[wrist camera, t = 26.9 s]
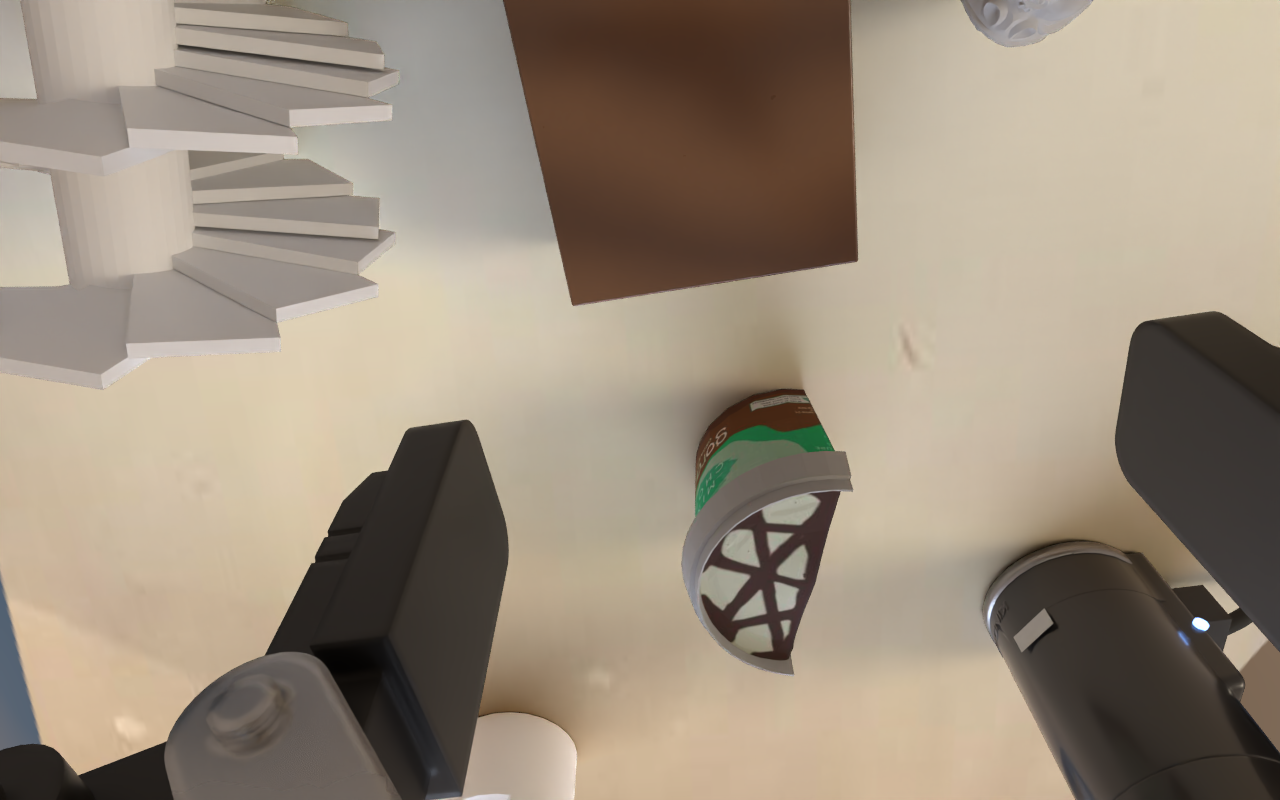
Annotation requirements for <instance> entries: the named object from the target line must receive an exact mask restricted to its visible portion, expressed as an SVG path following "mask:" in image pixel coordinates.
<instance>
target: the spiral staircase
mask: <svg viewBox="0 0 1280 800" xmlns="http://www.w3.org/2000/svg"><path fill="white" fill-rule="evenodd" d="M20 2H21V7H22V13H23V19H24V25H25V30H26V36H27V42H28V47H29V53H30V59H31V65H32V70H33V76H34V82H35V88H36V93H37V99H18V98H0V168H9V169H21V170H33V171H38V172H41V173H45V174H49V175H51V179H52V185H53V191H54V196H55V202H56V208H57V214H58V219H59V225H60V231H61V236H62V242H63V248H64V254H65V259H66V265H67V271H68V277H69V282H70V284H69V285H63V286H52V287H0V373H6V374H12V375H18V376H24V377H30V378H36V379H42V380H47V381H53V382H59V383H65V384H71V385H77V386H83V387H89V388H95V389H101V390H104V389H106V388H107V387H109V386H110V385H112V384H113V383H115V382H116V381H118V380H119V379H120V378H122V377H123V376H125V375H126V374H128V373H129V372H131V371H132V370H134V369H135V368H137V367H138V366H140V365H141V364H143V363H144V362H146V361H147V360H149V359H150V358H158V357H180V356H201V355H222V354H244V353H265V352H281V339H280V334H279V329H278V325H277V323H278V322H282V321H286V320H290V319H294V318H298V317H302V316H306V315H309V314H313V313H317V312H321V311H325V310H329V309H333V308H337V307H341V306H344V305H348V304H352V303H356V302H360V301H364V300H368V299H372V298H376V297H378V284H377V283H375V282H373V281H370V280H368V279H366V278H364V277H362V276H359V274H360V273H361V272H362V271H363V270H365V269H366V268H367V267H368V266H369V265H371V264H372V263H373V262H374V261H375V260H377V259H378V258H379V257H380V256H381V255H383V254H384V253H385V252H386V251H387V250H389V249H390V248H391V247H392V246H393V245H395V240H396V232H392V231H386V230H380V229H379V198H373V197H361V196H349V195H353V183H352V182H350V181H348V180H346V179H344V178H343V177H341V176H339V175H337V174H335V173H333V172H331V171H330V170H328V169H326V168H324V167H322V166H320V165H318V164H317V163H315V162H313V161H311V160H309V159H284V155H283V154H296V155H298V137H297V136H296V135H295V133H294V132H293V131H292V130H291V129H290V128H289V127H302V126H317V125H331V124H345V123H360V122H374V121H389V120H392V105H391V104H387V103H384V102H380V101H377V100H373V99H370V98H369V97H371V96H373V95H376V94H378V93H380V92H382V91H384V90H387V89H389V88H391V87H393V86H395V85H398V84H399V70H395V69H389V68H384V53H383V52H382V50H381V48H380V47H379V45H378V43H377V42H376V41H370V40H363V39H355V38H348V37H341V36H348V23H347V22H343V21H340V20H336V19H333V18H329V17H326V16H322V15H319V14H315V13H312V12H308V11H305V10H301V9H298V8H294V7H289V6H279V5H269V4H266V0H20ZM333 35H335V36H333ZM366 97H367V98H366Z"/></svg>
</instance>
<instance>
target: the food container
mask: <svg viewBox="0 0 1280 800" xmlns="http://www.w3.org/2000/svg"><path fill="white" fill-rule="evenodd" d="M850 478H851V473H850V469H849V464H848V460H847V456H846V452H842V451H835V450H834V448H833V446H832V444H831V442H830V440H829V438H828V436H827V434H826V433H825V431H824V429H823V427H822V425H821V423H820V421H819V419H818V417H817V415H816V413H815V411H814V409H813V407H812V405H811V403H810V401H809V399H808V397H807V395H806V393H805V391H804V390H798V389H780V390H775V391H771V392H766V393H761V394H756V395H753V396H751V397H749V398H747V399H745V400H743V401H741V402H739V403H737V404H735V405H733V406H731V407H729V408H727V409H726V410H725V411H724V412H723V413H722V414H721V415H720V416H719V417H718V418H717V419H716V420H715V421H714V422H713V423H712V424H711V425H710V426H709V427H708V429H707V431H706V432H705V434H704V436H703V438H702V440H701V441H700V444H699V447H698V451H697V455H696V485H695V519H694V521H693V523H692V525H691V527H690V529H689V531H688V533H687V536H686V539H685V543H684V546H683V552H682V572H683V580H684V583H685V586H686V588H687V591H688V594H689V597H690V599H691V602H692V605H693V607H694V610H695V612H696V614H697V616H698V618H699V619H700V621H701V623H702V625H703V626H704V627H705V628H706V630H707V631H708V632H709V634H710V635H711V636H712V638H713V639H714V640H715V641H716V642H717V643H718V644H719V646H721V647H722V648H723V649H724V650H726V651H727V652H728V653H729V654H730V655H732V656H733V657H735V658H737V659H739V660H740V661H742V662H744V663H746V664H748V665H751V666H753V667H756V668H758V669H761V670H764V671H768V672H772V673H776V674H782V675H789V676H794V672H793V666H792V660H791V651H792V649H793V643H794V639H795V636H796V632H797V629H798V626H799V623H800V620H801V617H802V615H803V612H804V609H805V607H806V604H807V602H808V600H809V597H810V595H811V592H812V590H813V587H814V585H815V582H816V578H817V574H818V570H819V566H820V561H821V557H822V553H823V549H824V546H825V542H826V538H827V534H828V531H829V528H830V524H831V521H832V518H833V515H834V511H835V508H836V505H837V502H838V498H839V495H840V492H841V491H852V492H853V488H852V485H851V482H850Z"/></svg>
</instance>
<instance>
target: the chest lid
mask: <svg viewBox="0 0 1280 800" xmlns="http://www.w3.org/2000/svg"><path fill="white" fill-rule="evenodd" d="M503 2H504V7H505V11H506V16H507V20H508V24H509V29H510V33H511V38H512V42H513V47H514V51H515V55H516V60H517V64H518V69H519V73H520V77H521V82H522V86H523V91H524V95H525V99H526V104H527V108H528V113H529V117H530V122H531V126H532V130H533V135H534V139H535V144H536V148H537V152H538V157H539V161H540V166H541V170H542V174H543V179H544V183H545V188H546V192H547V197H548V201H549V205H550V210H551V214H552V219H553V223H554V227H555V232H556V236H557V241H558V245H559V249H560V254H561V258H562V263H563V267H564V272H565V276H566V280H567V285H568V289H569V294H570V298H571V302H572V305H573V306H578V305H585V304H591V303H597V302H604V301H610V300H616V299H623V298H629V297H635V296H642V295H648V294H655V293H661V292H667V291H674V290H680V289H686V288H693V287H699V286H706V285H712V284H718V283H725V282H731V281H737V280H744V279H750V278H756V277H763V276H769V275H776V274H782V273H788V272H795V271H801V270H807V269H814V268H820V267H827V266H833V265H839V264H846V263H852V262H857V261H858V238H857V203H856V169H855V135H854V101H853V67H852V33H851V0H503Z"/></svg>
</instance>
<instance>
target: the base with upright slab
mask: <svg viewBox="0 0 1280 800" xmlns="http://www.w3.org/2000/svg"><path fill="white" fill-rule="evenodd" d="M576 763H577V752H576V748H575V744H574V742H573V741H572V739H571V738H570V736H569V735H568V734H567V733H566V732H565V731H564V730H563V729H561V728H560V727H559V726H558V725H556V724H554V723H552V722H550V721H548V720H546V719H544V718H541V717H537V716H533V715H530V714H524V713H514V712H506V713H493V714H490V715H486V716H482V717H479V718H477V723H476V728H475V733H474V738H473V744H472V749H471V754H470V759H469V764H468V769H467V774H466V779H465V784H464V789H463V794H462V797H454V798H445V799H439V800H574V793H575V778H576Z"/></svg>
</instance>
